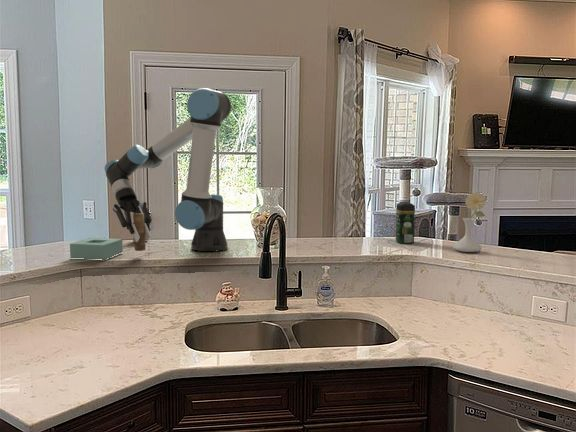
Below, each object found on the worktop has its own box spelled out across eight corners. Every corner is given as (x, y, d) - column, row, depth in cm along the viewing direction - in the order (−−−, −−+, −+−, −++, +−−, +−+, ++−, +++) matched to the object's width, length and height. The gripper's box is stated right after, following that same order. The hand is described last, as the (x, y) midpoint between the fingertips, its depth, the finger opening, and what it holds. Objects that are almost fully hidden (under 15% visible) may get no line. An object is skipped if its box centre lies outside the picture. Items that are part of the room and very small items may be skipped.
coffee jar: (393, 240, 252) (395, 200, 250) (410, 240, 252) (412, 200, 250) (397, 244, 242) (399, 202, 240) (415, 244, 242) (417, 203, 240)
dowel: (147, 249, 210) (145, 213, 209) (142, 250, 207) (141, 214, 205) (137, 248, 211) (136, 213, 210) (132, 250, 207) (131, 214, 206)
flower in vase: (447, 251, 227) (450, 191, 224) (462, 248, 234) (465, 190, 231) (475, 255, 217) (479, 193, 214) (490, 252, 224) (494, 192, 221)
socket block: (122, 253, 216) (122, 239, 215) (104, 261, 202) (104, 245, 202) (90, 252, 219) (90, 237, 218) (70, 259, 205) (69, 243, 204)
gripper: (141, 197, 224) (161, 242, 213) (101, 200, 213) (119, 247, 202) (146, 185, 219) (167, 230, 208) (105, 187, 208) (124, 235, 198)
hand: (143, 238), depth 205 cm, fingers closed on dowel, 4 cm apart
